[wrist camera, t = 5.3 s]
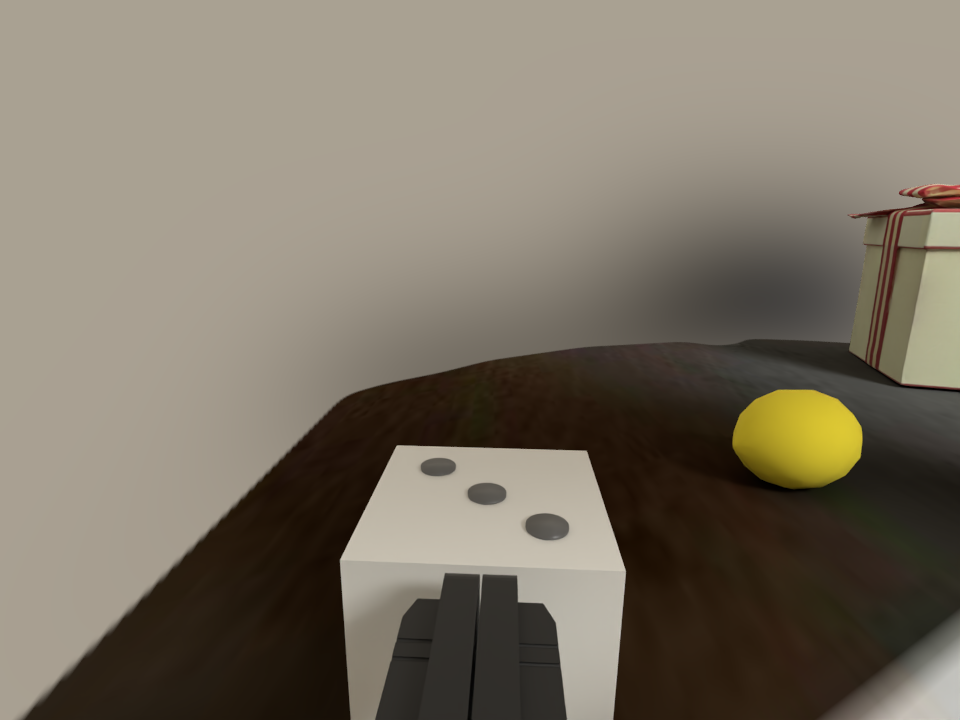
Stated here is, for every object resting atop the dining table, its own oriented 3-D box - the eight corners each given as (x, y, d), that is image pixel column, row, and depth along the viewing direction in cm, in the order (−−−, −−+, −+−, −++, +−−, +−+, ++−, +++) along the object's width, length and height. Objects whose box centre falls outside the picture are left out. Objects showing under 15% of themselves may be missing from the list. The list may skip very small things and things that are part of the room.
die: (402, 605, 20) (396, 442, 19) (576, 613, 20) (586, 447, 18) (354, 777, 14) (339, 556, 12) (606, 793, 14) (626, 567, 12)
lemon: (760, 517, 27) (761, 418, 26) (711, 469, 33) (709, 384, 31) (896, 498, 28) (904, 398, 26) (825, 453, 33) (829, 367, 31)
